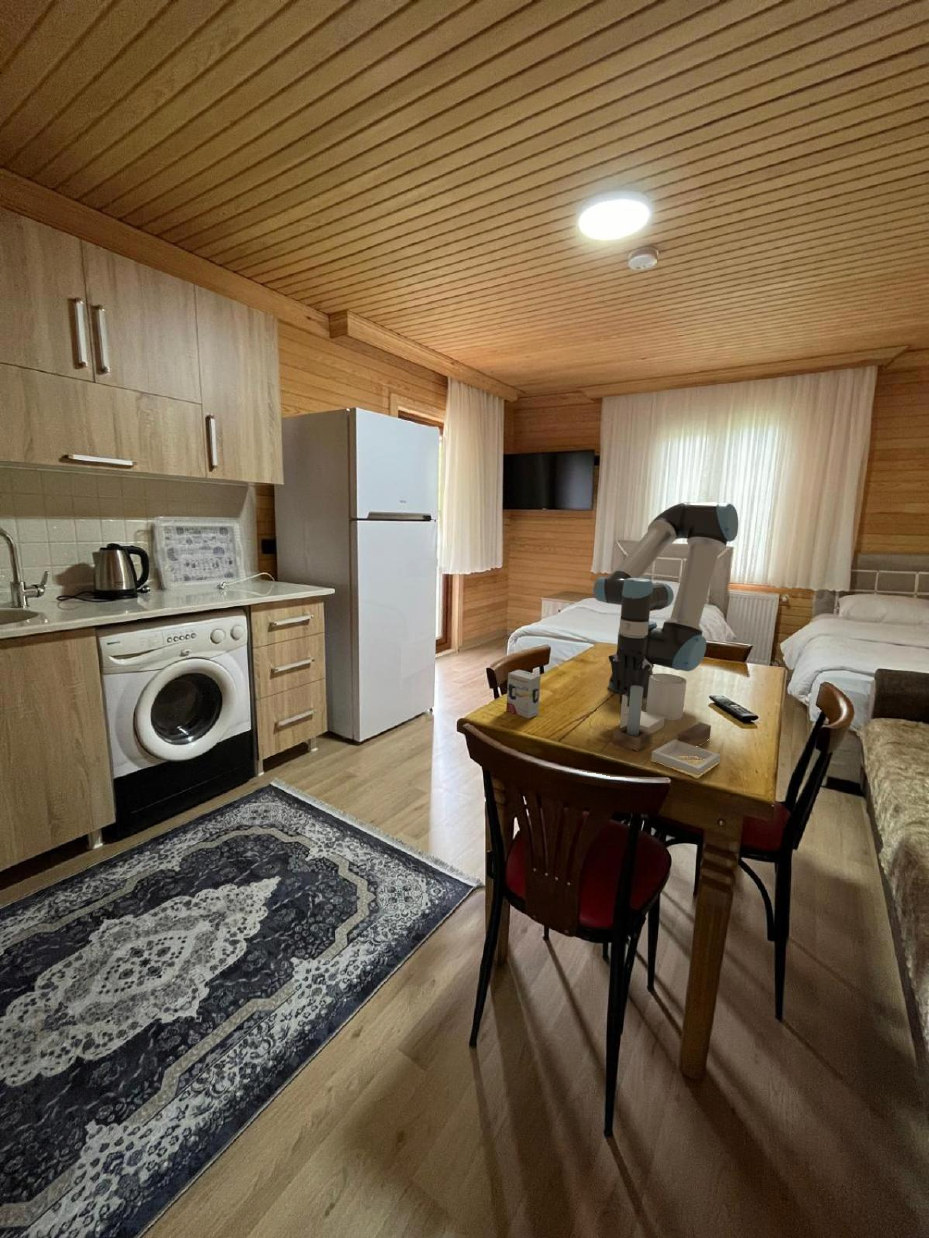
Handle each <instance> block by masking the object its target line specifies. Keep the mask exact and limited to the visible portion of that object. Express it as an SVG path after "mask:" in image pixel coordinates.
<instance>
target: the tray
mask: <svg viewBox="0 0 929 1238" xmlns="http://www.w3.org/2000/svg"><path fill="white" fill-rule="evenodd" d="M677 756H678V757H677ZM679 756H688V759H687V757H685V758H679ZM689 756H697V757H699V758H698V759H697V758H695V757H690V758H689ZM700 758H702V759H700ZM703 759H705V760H703ZM720 759H721V754H720V753H717V752H714V751H710V750H708V749H705V748H702V747H700V746H699V747H696V746H694V745H691V744H688V743H685V742H682V741H679V740H678V739H676V738H674V739H672V740H670V741H668V742H667V743H665V744H663V745H662V746H660V747H657V748H656V749H654V750H652V751H651V759H650V761H651V760H653V761H656V762H658V763H662V764H664V765H666V766H669V767H674V768H676V769H679V770H684V771H686V772H689V773H693V774H695V775H700V774H701V773H703V772H704V771H705V770H707V769H708V768H710V767H711V766H713V765H714V764H716V763H718V762H719V763H720ZM683 760H703V761H702V762H698V763H699V764H697V765H694V764H691V763H692V761H691V763H690V762H689V763H688V762H686V761H683Z"/></svg>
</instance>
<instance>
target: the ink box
mask: <svg viewBox="0 0 929 1238" xmlns="http://www.w3.org/2000/svg"><path fill="white" fill-rule="evenodd" d="M506 688H507V689H506V706H505V708H506V710H507V712H508V711H509V713H511V712H513V713H512V714H514V713H515V714H514V715H517V716H520V715H521V717H524V718H526V719H531V718H533V717H536V716H538V715H539V711H540V708H539V707H540V691H541V676H540V675H539V674H536V673H532V672H529V671H526V670H521V669H516V670H514V671H511V672H508V673H507V687H506ZM506 710H505V711H506Z"/></svg>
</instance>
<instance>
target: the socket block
mask: <svg viewBox="0 0 929 1238" xmlns="http://www.w3.org/2000/svg"><path fill="white" fill-rule="evenodd" d="M626 733H627V725H626V726H624V727H622V728H620V727H619V728H618V729H615V730H613V731H612V741H611V742H612V743H613V744H615V743H616V744H615V745H618V746H621V747H623V746H625V747H624V748H626V747H627V748H626V749H628V748H629V750H631V749H633V750H636V751H638V750H640V749H641V750H643V749H645V748H647V747H649V746H651V745H652V742H653V741H652V740H653V733H651V732H648V731H645V730H642V729H639V736H638V737H634V736H631V735H628V734H626ZM650 744H651V745H650ZM648 745H649V746H648ZM646 746H647V747H646ZM644 747H645V748H644ZM642 748H643V749H642ZM633 750H632V751H633ZM641 750H640V751H641ZM636 751H635V752H636ZM638 752H639V751H638Z"/></svg>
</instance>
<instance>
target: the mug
mask: <svg viewBox="0 0 929 1238" xmlns="http://www.w3.org/2000/svg"><path fill="white" fill-rule="evenodd" d="M686 688H687V679H686V678H684V677H682V676H680V675H675V674H670V673H653V674H652V675H650V676H649V686H648V696H646V697H647V698H646V706H645V712H647V713H650V714H654V715H657V716H661V717H664V720H671V721H672V720H673V721H675V720H680V719H682V718H683V715H684V706H685V698H686V692H687V691H686V690H687V689H686Z"/></svg>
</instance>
